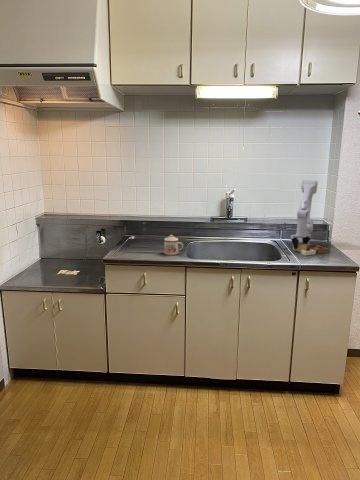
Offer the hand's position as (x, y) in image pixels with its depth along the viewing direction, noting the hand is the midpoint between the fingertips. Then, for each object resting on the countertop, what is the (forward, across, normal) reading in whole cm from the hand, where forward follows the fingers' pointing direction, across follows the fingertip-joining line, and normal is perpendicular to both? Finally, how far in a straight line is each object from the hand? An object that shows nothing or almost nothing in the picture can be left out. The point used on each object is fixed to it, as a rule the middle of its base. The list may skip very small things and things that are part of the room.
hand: (299, 248), depth 238 cm
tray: (+1, +11, -3) cm, 11 cm away
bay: (+1, 0, -8) cm, 8 cm away
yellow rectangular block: (+2, 0, 0) cm, 2 cm away
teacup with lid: (+2, -80, +20) cm, 83 cm away
